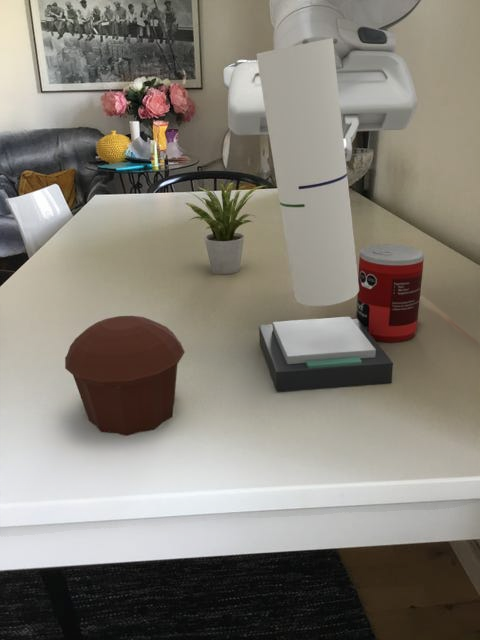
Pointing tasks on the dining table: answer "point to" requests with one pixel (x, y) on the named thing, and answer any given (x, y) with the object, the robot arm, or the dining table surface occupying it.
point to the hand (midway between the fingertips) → (327, 158)
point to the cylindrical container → (310, 170)
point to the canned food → (389, 291)
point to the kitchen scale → (322, 354)
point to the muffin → (126, 373)
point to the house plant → (223, 229)
